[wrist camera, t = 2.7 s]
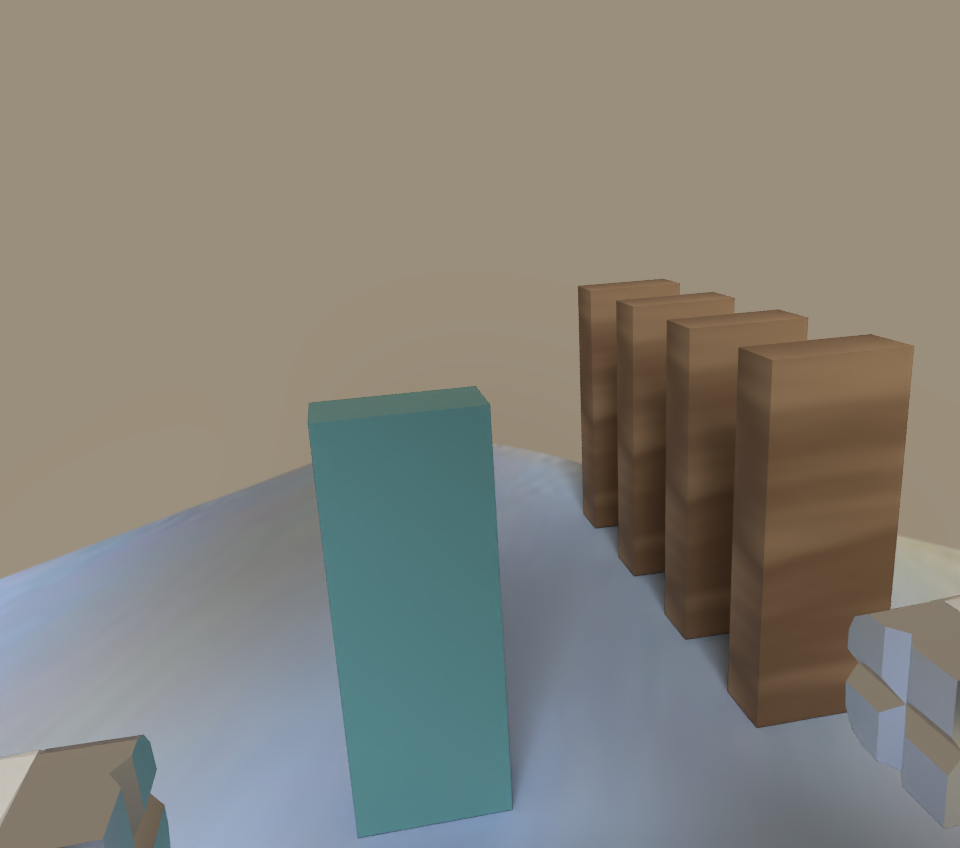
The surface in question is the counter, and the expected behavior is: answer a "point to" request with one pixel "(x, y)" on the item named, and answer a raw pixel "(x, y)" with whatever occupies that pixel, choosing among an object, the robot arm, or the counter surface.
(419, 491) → the domino
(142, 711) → the counter surface
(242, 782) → the counter surface
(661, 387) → the domino
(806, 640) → the domino
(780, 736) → the counter surface
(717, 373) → the domino
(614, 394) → the domino
